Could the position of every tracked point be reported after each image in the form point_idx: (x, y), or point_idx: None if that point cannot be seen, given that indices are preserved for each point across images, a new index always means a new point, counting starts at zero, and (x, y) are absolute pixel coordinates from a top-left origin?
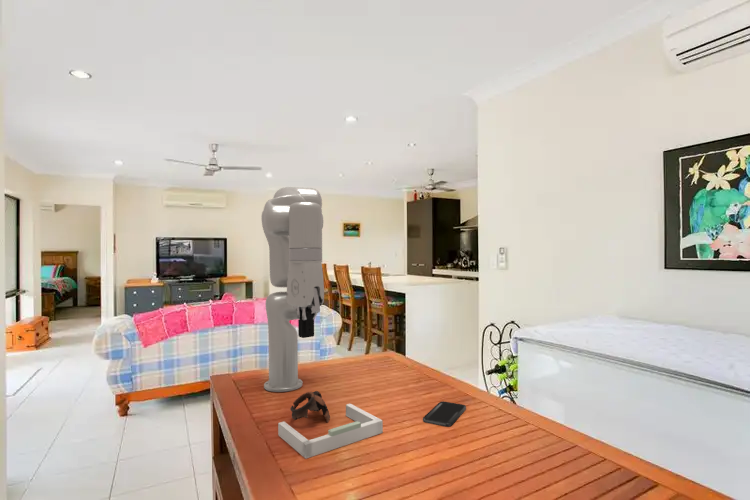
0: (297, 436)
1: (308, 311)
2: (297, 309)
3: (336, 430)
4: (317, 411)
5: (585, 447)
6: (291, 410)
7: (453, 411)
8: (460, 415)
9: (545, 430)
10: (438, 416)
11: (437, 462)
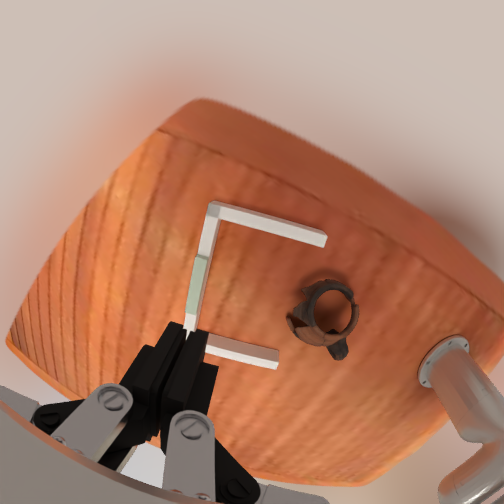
0: (247, 216)
1: (40, 412)
2: (200, 478)
3: (193, 266)
4: (326, 332)
5: (53, 379)
6: (341, 285)
7: None
8: None
9: None
10: None
11: (89, 299)
